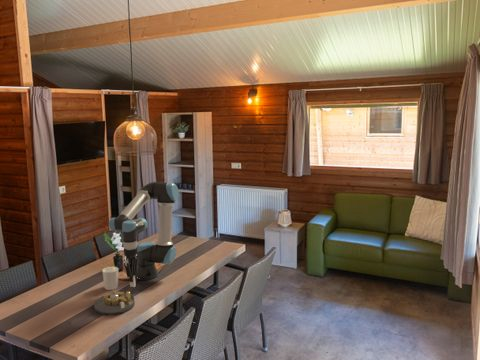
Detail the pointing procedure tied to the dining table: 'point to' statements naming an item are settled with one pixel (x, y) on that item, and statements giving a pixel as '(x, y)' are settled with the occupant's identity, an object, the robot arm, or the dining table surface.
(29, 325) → the dining table surface
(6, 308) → the dining table surface
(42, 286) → the dining table surface
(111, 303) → the brass lugged wrench
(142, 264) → the robot arm
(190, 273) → the dining table surface
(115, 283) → the candle holder
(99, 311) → the bearing cap
